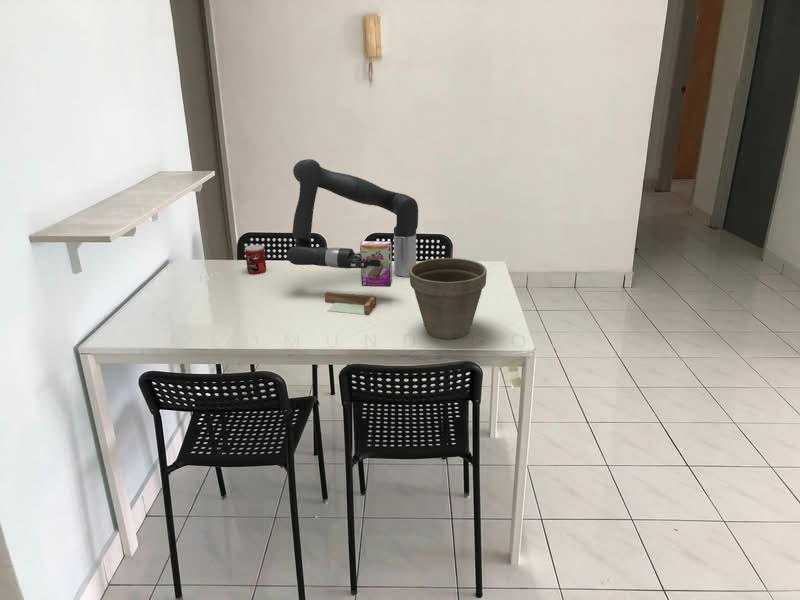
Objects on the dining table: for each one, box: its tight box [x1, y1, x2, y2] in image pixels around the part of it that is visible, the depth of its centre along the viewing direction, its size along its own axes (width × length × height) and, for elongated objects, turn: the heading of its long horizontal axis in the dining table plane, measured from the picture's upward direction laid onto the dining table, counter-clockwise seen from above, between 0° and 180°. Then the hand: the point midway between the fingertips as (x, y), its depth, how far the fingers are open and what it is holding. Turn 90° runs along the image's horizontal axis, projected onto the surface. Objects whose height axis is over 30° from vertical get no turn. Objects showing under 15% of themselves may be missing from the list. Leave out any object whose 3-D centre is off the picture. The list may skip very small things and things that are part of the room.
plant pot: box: [409, 257, 488, 340], centre depth 197 cm, size 25×25×22 cm
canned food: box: [244, 244, 267, 275], centre depth 258 cm, size 8×8×11 cm
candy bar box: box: [359, 240, 393, 288], centre depth 222 cm, size 11×5×16 cm, turn 84°
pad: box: [327, 303, 364, 315], centre depth 219 cm, size 8×14×1 cm, turn 75°
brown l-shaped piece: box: [324, 291, 377, 316], centre depth 220 cm, size 10×20×4 cm, turn 75°
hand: (382, 260), depth 221 cm, fingers closed on candy bar box, 5 cm apart
